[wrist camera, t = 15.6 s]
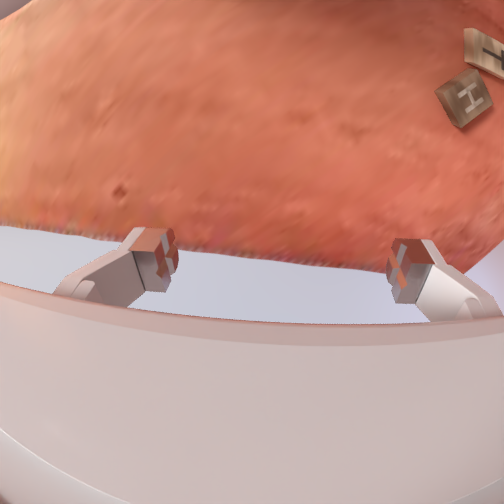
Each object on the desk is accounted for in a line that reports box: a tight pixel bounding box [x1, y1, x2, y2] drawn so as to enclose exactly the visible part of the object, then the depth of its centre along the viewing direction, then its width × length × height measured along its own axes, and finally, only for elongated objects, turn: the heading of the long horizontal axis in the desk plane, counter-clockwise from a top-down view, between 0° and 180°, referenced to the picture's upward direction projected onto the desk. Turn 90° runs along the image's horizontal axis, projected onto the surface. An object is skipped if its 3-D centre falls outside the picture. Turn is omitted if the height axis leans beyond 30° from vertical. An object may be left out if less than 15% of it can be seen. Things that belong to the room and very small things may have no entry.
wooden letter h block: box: [434, 68, 493, 128], centre depth 27 cm, size 6×3×8 cm
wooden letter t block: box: [464, 28, 504, 79], centre depth 21 cm, size 6×3×8 cm
